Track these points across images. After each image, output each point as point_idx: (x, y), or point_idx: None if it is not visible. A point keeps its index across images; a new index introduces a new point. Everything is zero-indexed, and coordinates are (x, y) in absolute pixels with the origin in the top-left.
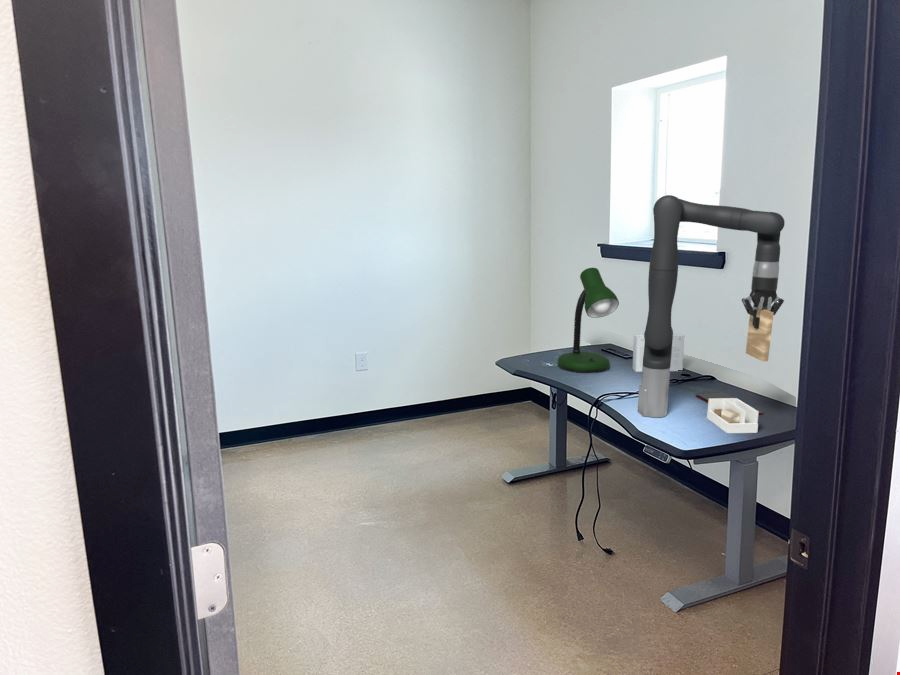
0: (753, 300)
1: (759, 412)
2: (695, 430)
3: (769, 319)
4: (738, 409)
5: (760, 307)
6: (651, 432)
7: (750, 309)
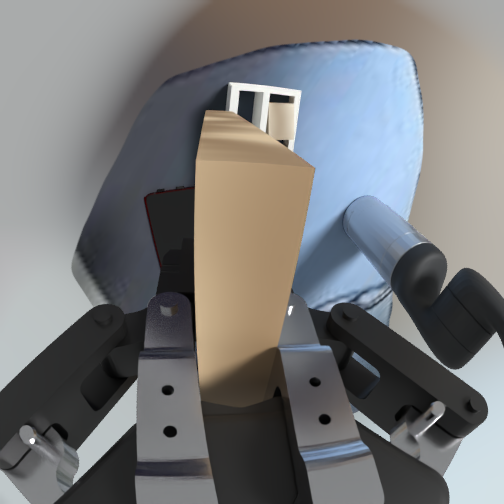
0: (400, 451)
1: (154, 197)
2: (345, 119)
3: (249, 140)
4: (266, 115)
5: (311, 372)
6: (415, 132)
7: (396, 346)
